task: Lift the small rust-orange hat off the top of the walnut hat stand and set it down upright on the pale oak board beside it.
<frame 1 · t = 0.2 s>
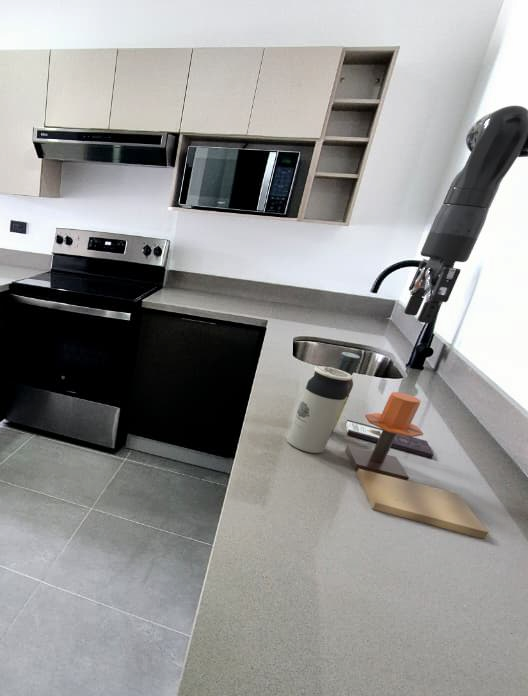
hand: (416, 318, 100), 32 cm above the worktop, tool pointing down, fingers open, 8 cm apart
oak board: (414, 504, 96), on the worktop
hat: (392, 425, 105), point 10 cm above the worktop, touching hat stand
travel mug: (304, 446, 115), on the worktop
hat stand: (373, 466, 109), on the worktop
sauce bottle: (319, 430, 125), on the worktop
chocolate bar: (386, 440, 124), on the worktop
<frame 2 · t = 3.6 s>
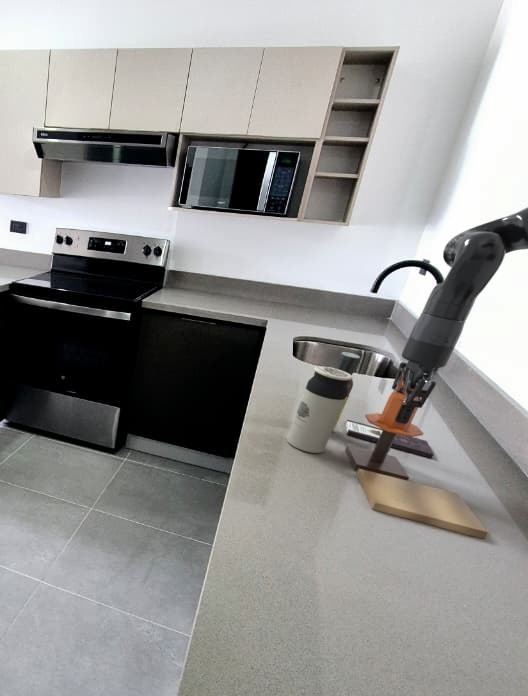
hand: (396, 417, 105), 12 cm above the worktop, tool pointing down, fingers closed on hat, 5 cm apart
hat: (392, 425, 105), point 10 cm above the worktop, touching gripper, hat stand
everything else where it was.
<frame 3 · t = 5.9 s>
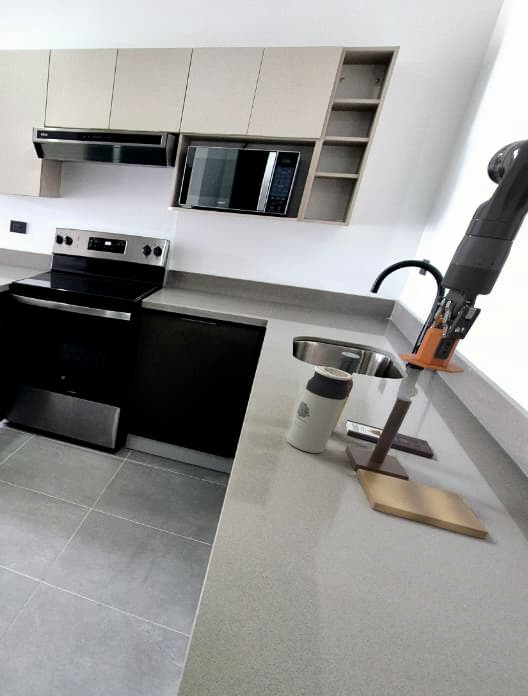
hand: (434, 354, 97), 26 cm above the worktop, tool pointing down, fingers closed on hat, 5 cm apart
hat: (429, 363, 97), point 24 cm above the worktop, touching gripper
everything else where it was.
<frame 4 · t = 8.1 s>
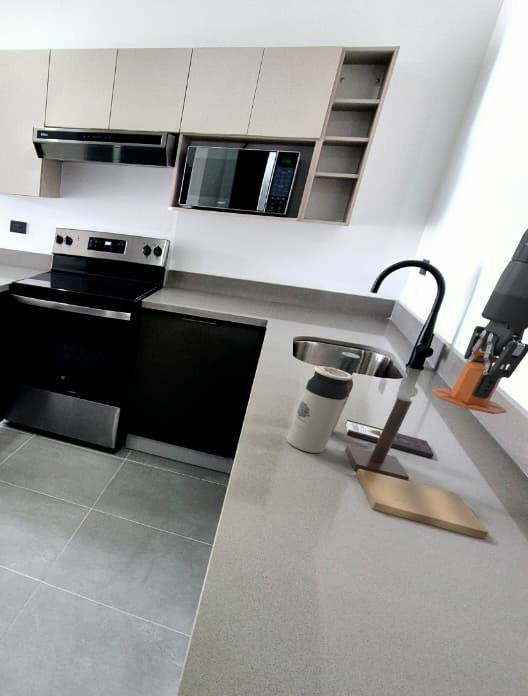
hand: (472, 391, 87), 23 cm above the worktop, tool pointing down, fingers closed on hat, 5 cm apart
hat: (467, 401, 87), point 22 cm above the worktop, touching gripper
everything else where it was.
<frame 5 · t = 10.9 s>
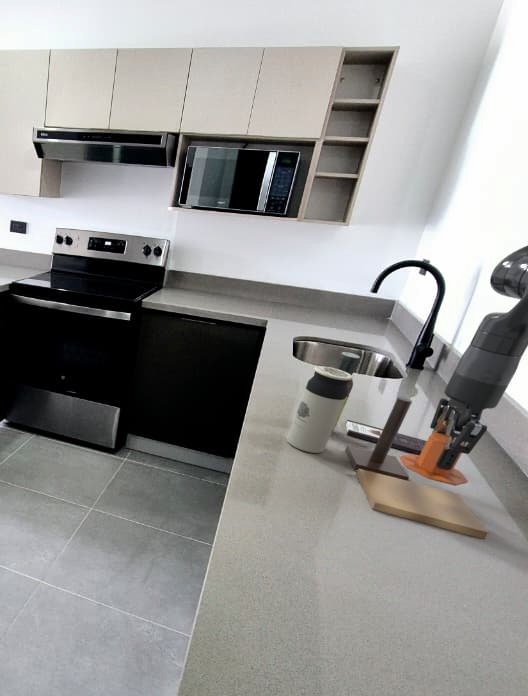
hand: (436, 461, 92), 10 cm above the worktop, tool pointing down, fingers closed on hat, 5 cm apart
hat: (432, 470, 93), point 8 cm above the worktop, touching gripper
everything else where it was.
when the fingers open (3 cm above the worktop, at t = 12.9 s): hat stays where it is, resting on oak board.
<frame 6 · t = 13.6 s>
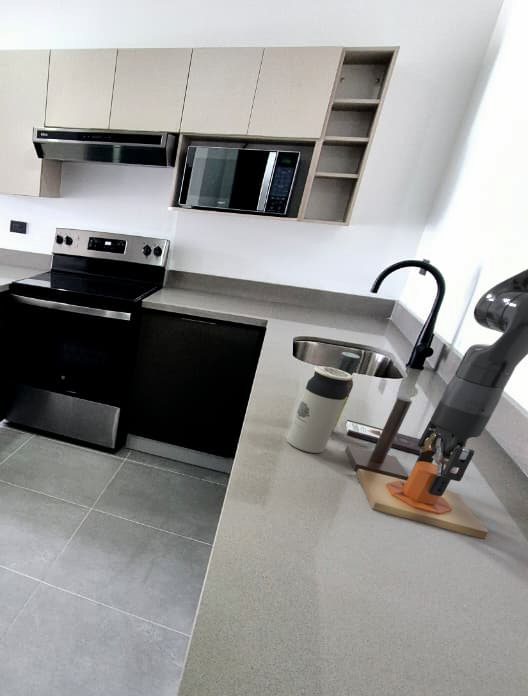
hand: (425, 483, 94), 5 cm above the worktop, tool pointing down, fingers open, 8 cm apart
hat: (417, 497, 96), point 1 cm above the worktop, touching oak board
everything else where it was.
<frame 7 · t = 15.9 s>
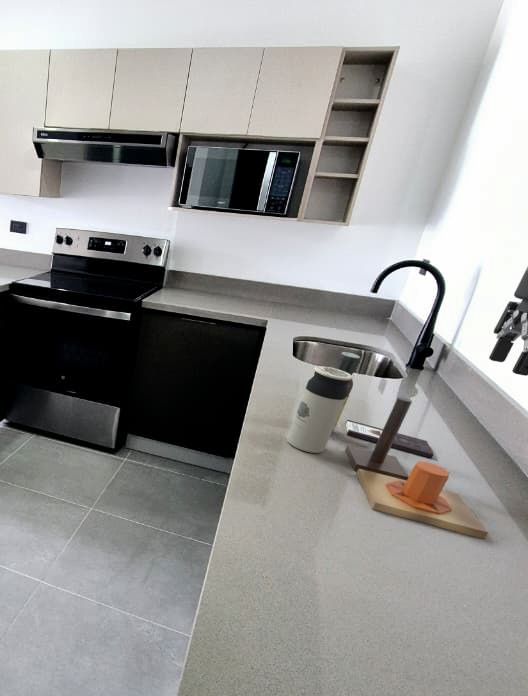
hand: (507, 367, 88), 28 cm above the worktop, tool pointing down, fingers open, 8 cm apart
nothing on the worktop moved.
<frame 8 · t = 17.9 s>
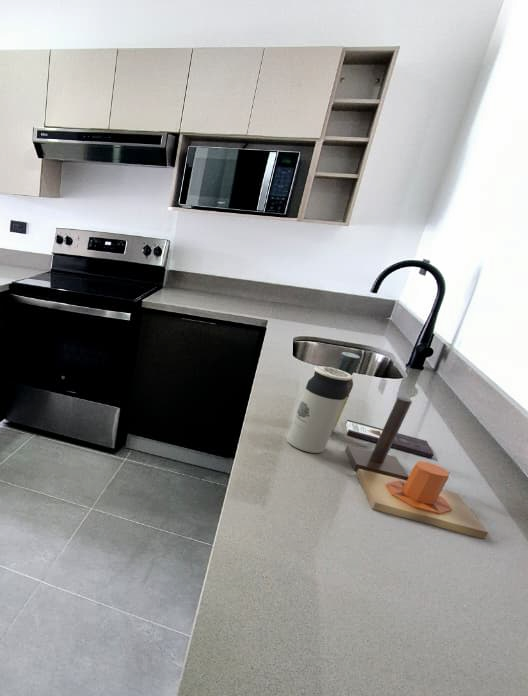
nothing on the worktop moved.
at the end: hat inside the target area on the oak board (0.1 cm from its centre), point 1.5 cm above the oak board's base; hat tilted 0°; hat touching oak board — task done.
